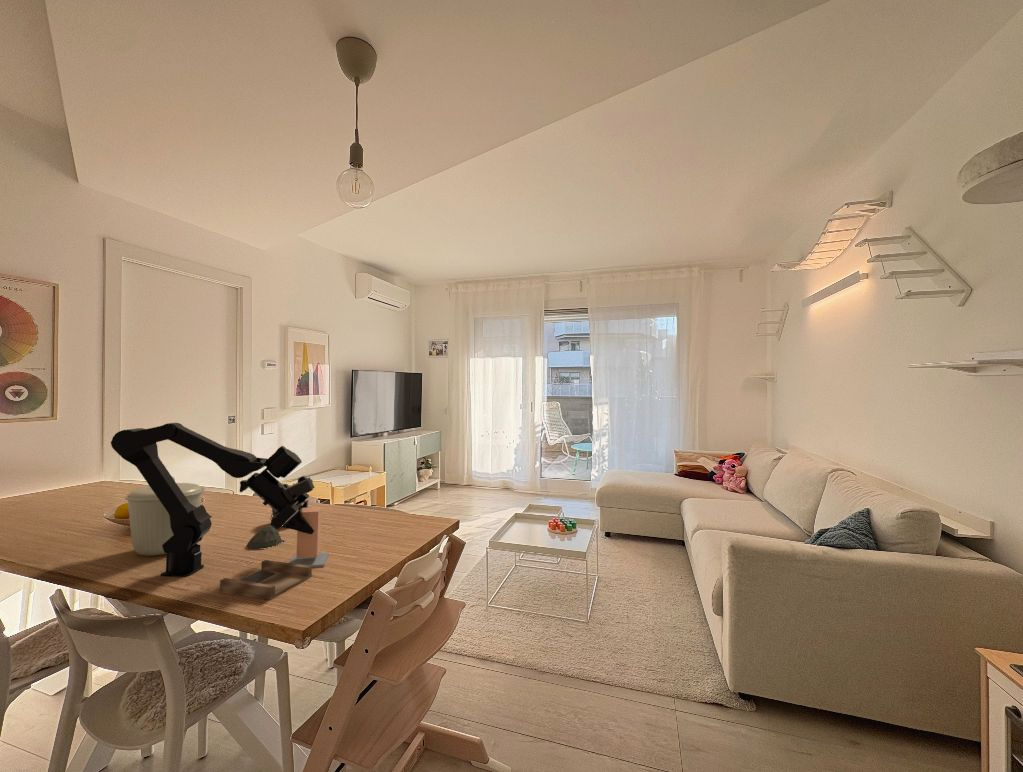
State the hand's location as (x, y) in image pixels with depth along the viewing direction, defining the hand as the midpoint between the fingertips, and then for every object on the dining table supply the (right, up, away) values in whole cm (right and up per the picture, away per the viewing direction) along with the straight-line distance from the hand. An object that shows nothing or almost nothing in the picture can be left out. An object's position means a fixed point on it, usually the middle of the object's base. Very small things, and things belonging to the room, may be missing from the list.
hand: (314, 529), depth 117 cm
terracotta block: (-1, -6, -1) cm, 7 cm away
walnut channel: (-5, -8, -15) cm, 17 cm away
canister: (-46, -8, +7) cm, 47 cm away
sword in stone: (-20, -9, +13) cm, 26 cm away
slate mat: (-1, -8, -1) cm, 9 cm away
